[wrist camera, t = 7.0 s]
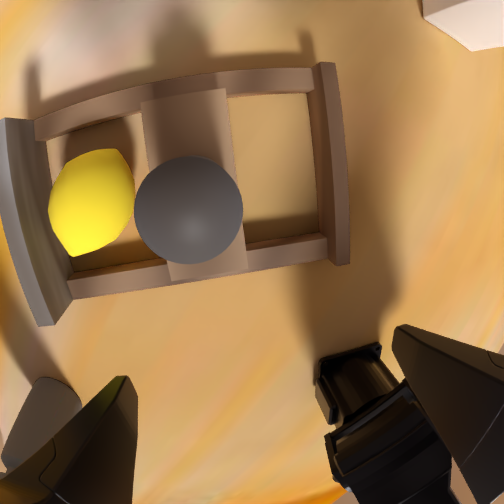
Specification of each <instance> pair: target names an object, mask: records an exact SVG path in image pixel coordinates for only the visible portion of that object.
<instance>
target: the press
mask: <svg viewBox="0 0 504 504" xmlns="http://www.w3.org/2000/svg"><path fill="white" fill-rule="evenodd" d="M223 88H225V89H226V97H227V98H231V97H241V96H252V95H266V94H286V93H307V99H308V107H309V115H310V123H311V132H312V142H313V152H314V163H315V175H316V188H317V202H318V219H319V232H317V233H311V234H304V235H298V236H292V237H285V238H279V239H273V240H266V241H260V242H254V243H248V244H245V246H246V254H247V261H248V269H244V270H238V271H232V272H226V273H220V274H214V275H208V276H202V277H195V278H189V279H183V280H177V281H171V277H170V273H169V268H168V264H167V260H166V259H164V258H157V259H151V260H145V261H139V262H134V263H128V264H122V265H116V266H110V267H105V268H99V269H93V270H87V271H82V272H76V273H74V271H73V268H72V265H71V261H70V258H69V255H68V252H67V251H66V249H65V248H64V246H63V245H62V243H61V242H60V240H59V239H58V237H57V236H56V234H55V233H54V231H53V229H52V225H51V223H50V219H49V214H48V205H49V199H50V192H51V190H52V182H51V176H50V170H49V164H48V157H47V149H46V141H47V140H50V139H53V138H55V137H58V136H61V135H64V134H67V133H70V132H73V131H76V130H79V129H82V128H85V127H88V126H91V125H95V124H98V123H102V122H105V121H109V120H113V119H116V118H120V117H124V116H128V115H132V114H136V113H141V102H145V101H150V100H155V99H159V98H165V97H170V96H175V95H181V94H187V93H193V92H200V91H207V90H215V89H223ZM0 215H1V219H2V224H3V228H4V232H5V236H6V239H7V243H8V246H9V250H10V253H11V256H12V260H13V263H14V266H15V269H16V272H17V275H18V278H19V281H20V283H21V286H22V289H23V291H24V294H25V297H26V299H27V302H28V304H29V307H30V309H31V311H32V314H33V316H34V318H35V321H36V323H37V325H38V327H40V326H51V325H55V324H56V323H57V321H58V320H59V319H60V317H61V316H62V314H63V313H64V312H65V310H66V309H67V308H68V306H69V305H70V303H71V302H72V301H73V300H75V299H82V298H89V297H96V296H103V295H110V294H117V293H124V292H131V291H137V290H144V289H150V288H157V287H163V286H170V285H176V284H182V283H189V282H195V281H201V280H207V279H213V278H219V277H225V276H231V275H237V274H243V273H249V272H255V271H261V270H266V269H272V268H278V267H283V266H289V265H295V264H300V263H306V262H311V261H317V260H322V259H329V260H330V261H331V262H332V263H333V264H334V265H335V266H341V265H346V264H350V218H349V191H348V173H347V158H346V146H345V135H344V125H343V116H342V107H341V99H340V92H339V85H338V78H337V72H336V65H335V63H331V62H319V63H318V64H316V65H315V66H313V67H312V68H262V69H245V70H233V71H223V72H214V73H206V74H199V75H192V76H185V77H179V78H174V79H168V80H163V81H158V82H153V83H149V84H144V85H140V86H135V87H131V88H127V89H123V90H120V91H116V92H112V93H109V94H105V95H102V96H99V97H95V98H92V99H89V100H86V101H83V102H80V103H77V104H74V105H71V106H68V107H66V108H63V109H60V110H58V111H55V112H52V113H50V114H47V115H45V116H43V117H40V118H38V119H35V120H26V119H16V118H3V119H1V120H0Z"/></svg>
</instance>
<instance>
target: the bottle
mask: <svg viewBox="0 0 504 504" xmlns="http://www.w3.org/2000/svg"><path fill="white" fill-rule="evenodd" d="M81 409H82V404H81V401H80V399H79V397H78V396H77V395H76V393H75V392H74V391H73V390H72V389H70V388H69V387H68V386H66V385H65V384H63V383H62V382H60V381H58V380H55V379H52V378H47V377H42V378H39V379H38V380H37V381H36V382H35V384H34V385H33V387H32V389H31V391H30V393H29V395H28V396H27V398H26V400H25V402H24V404H23V406H22V408H21V410H20V412H19V414H18V417H17V419H16V421H15V423H14V425H13V427H12V429H11V432H10V434H9V436H8V439H7V441H6V443H5V446H4V448H3V451H2V454H1V459H2V462H3V463H4V465H5V467H6V468H7V471H6V473H3V472H0V479H2V478H3V477H5V476H6V475H7V474H9V473H10V472H11V471H13V470H14V469H15V468H17V467H18V466H19V465H20V464H22V463H23V462H24V461H26V460H27V459H28V458H29V457H31V456H32V455H33V454H34V453H35V452H37V451H38V450H39V449H40V448H41V447H42V446H43V445H44V444H45V443H46V442H47V441H49V440H50V439H51V438H52V437H53V436H54V435H55V434H56V433H57V432H58V431H59V430H60V429H61V428H62V427H63V426H64V425H65V424H66V423H67V422H68V421H69V420H71V419H72V418H73V417H74V416H75V415H76V414H77V413H78V412H79V411H80V410H81Z"/></svg>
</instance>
